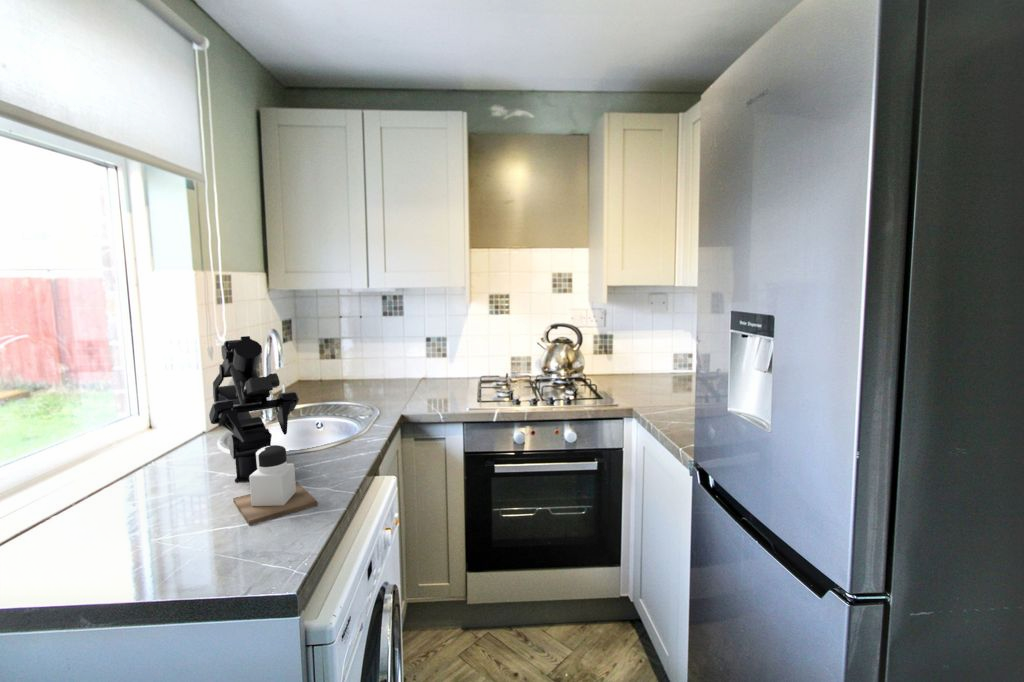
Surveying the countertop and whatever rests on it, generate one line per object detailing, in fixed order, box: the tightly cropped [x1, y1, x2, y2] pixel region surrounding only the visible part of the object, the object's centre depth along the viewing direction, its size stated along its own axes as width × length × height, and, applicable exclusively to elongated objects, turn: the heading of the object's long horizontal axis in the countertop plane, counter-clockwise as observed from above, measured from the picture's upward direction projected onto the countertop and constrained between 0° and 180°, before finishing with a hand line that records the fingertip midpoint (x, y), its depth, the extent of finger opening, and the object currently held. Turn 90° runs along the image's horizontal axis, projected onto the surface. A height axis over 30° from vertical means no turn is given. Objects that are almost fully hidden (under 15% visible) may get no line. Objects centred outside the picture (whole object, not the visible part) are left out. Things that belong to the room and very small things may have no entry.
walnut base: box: [232, 481, 318, 526], centre depth 117 cm, size 14×14×1 cm
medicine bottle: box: [249, 444, 296, 506], centre depth 116 cm, size 7×7×12 cm
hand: (265, 437), depth 120 cm, fingers open, 9 cm apart
